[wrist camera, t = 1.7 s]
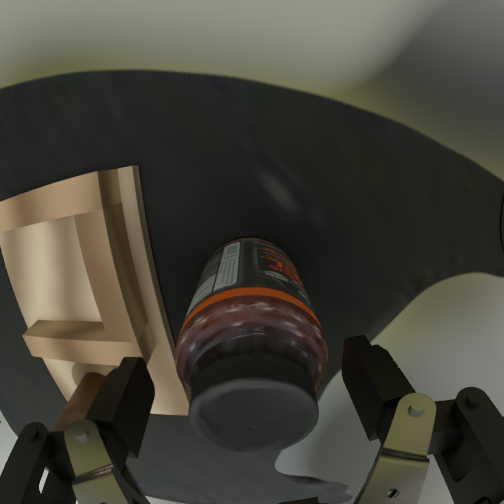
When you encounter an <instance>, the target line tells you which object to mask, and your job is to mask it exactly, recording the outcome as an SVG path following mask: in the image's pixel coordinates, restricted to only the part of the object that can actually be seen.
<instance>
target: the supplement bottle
mask: <svg viewBox="0 0 504 504" xmlns="http://www.w3.org/2000/svg"><path fill="white" fill-rule="evenodd" d="M328 360H329V350H328V346H327V340H326V337H325V335H324V332H323V330H322V327H321V325H320V322H319V319H318V317H317V315H316V313H315V311H314V308H313V306H312V304H311V301H310V300H309V297H308V295H307V293H306V290H305V288H304V286H303V284H302V281H301V279H300V277H299V275H298V272H297V270H296V269H295V266H294V264H293V263H292V261H291V260H290V258H289V256H287V254H286V253H285V252H284V251H283V250H282V249H280V248H279V247H278V246H276V245H275V244H273V243H271V242H269V241H266V240H263V239H257V238H241V239H237V240H233V241H231V242H229V243H226V244H224V245H223V246H221V247H220V248H219V249H217V250H216V251H215V252H214V254H213V255H212V256H211V257H210V259H209V260H208V262H207V264H206V266H205V268H204V270H203V273H202V275H201V278H200V281H199V283H198V285H197V288H196V291H195V294H194V296H193V299H192V301H191V304H190V307H189V310H188V312H187V315H186V318H185V320H184V323H183V326H182V329H181V331H180V335H179V337H178V341H177V345H176V351H175V366H176V371H177V375H178V377H179V380H180V382H181V383H182V385H183V387H184V388H185V390H186V391H187V392H188V394H189V395H190V396H191V400H190V404H189V411H188V417H189V423H190V425H191V427H192V429H193V431H194V432H195V433H196V434H197V436H198V437H199V438H201V439H202V440H203V441H204V442H206V443H207V444H209V445H211V446H213V447H215V448H219V449H221V450H223V451H227V452H232V453H238V454H266V453H271V452H276V451H279V450H283V449H286V448H288V447H290V446H292V445H294V444H296V443H298V442H299V441H301V440H302V439H304V438H305V437H306V436H307V435H308V434H309V433H310V432H311V431H312V430H313V428H314V427H315V426H316V424H317V421H318V416H319V409H318V404H317V401H316V394H315V392H316V390H317V389H318V388H319V386H320V385H321V383H322V381H323V379H324V376H325V374H326V371H327V367H328Z"/></svg>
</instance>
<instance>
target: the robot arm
mask: <svg viewBox="0 0 504 504" xmlns="http://www.w3.org/2000/svg"><path fill="white" fill-rule="evenodd" d="M501 233H502V242H503V246H504V203H503V210H502V220H501ZM342 376H343V381H344V383H345V385H346V388H347V390H348V392H349V395H350V397H351V399H352V402H353V404H354V406H355V409H356V411H357V413H358V415H359V418H360V420H361V423H362V425H363V427H364V430H365V432H366V434H367V437H368V439H369V441H372V440H375V439H379V440H380V442H381V446H380V448H379V451H378V453H377V456H376V458H375V461H374V463H373V465H372V467H371V469H370V472H369V474H368V476H367V478H366V480H365V482H364V484H363V486H362V488H361V490H360V492H359V494H358V495H357V497H356V499H355V501H354V503H353V504H417V502H418V499H419V497H420V493H421V491H422V488H423V484H424V481H425V478H426V474H427V471H428V467H429V459H428V458H427V455H430V454H433V455H434V457H435V459H436V462H437V464H438V466H439V468H440V471H441V473H442V475H443V477H444V480H445V482H446V485H447V487H448V489H449V492H450V494H451V496H452V499H453V501H454V504H504V418H503V417H502V415H501V414H500V412H499V411H498V410H497V408H496V407H495V405H494V404H493V403H492V401H491V400H490V398H489V397H488V396H487V394H486V393H485V392H484V391H483V390H481V389H479V388H476V387H467V388H464V389H462V390H461V391H460V392H459V393H458V395H457V397H456V399H453V400H446V401H433V399H432V398H430V397H429V396H427V395H425V394H422V393H416V392H415V390H414V389H413V387H412V386H411V384H410V383H409V381H408V380H407V378H406V377H405V376H404V374H403V373H402V371H401V370H400V368H398V365H397V364H396V362H395V361H393V358H392V357H391V355H390V354H389V352H388V351H387V350H385V349H384V348H382V347H380V346H379V345H373V346H372V345H371V344H370V342H369V341H368V339H367V338H366V336H365V335H360V336H355V337H350V338H346V339H345V341H344V350H343V359H342ZM154 398H155V387H154V383H153V381H152V378H151V376H150V373H149V371H148V368H147V366H146V363H145V361H144V359H143V358H142V357H124V358H123V359H122V361H121V363H120V365H119V367H118V368H114V369H113V370H112V371H110V372H109V373H108V374H107V375H106V376H105V378H104V380H103V382H102V384H101V386H100V388H99V390H98V394H96V396H95V398H94V400H93V402H92V404H91V406H90V408H89V410H88V412H87V414H86V416H85V418H84V419H80V420H76V421H74V422H72V423H71V424H70V425H69V426H68V427H67V428H66V430H65V431H52V432H49V430H48V429H47V428H46V427H45V425H43V424H42V423H40V422H32V423H30V424H28V425H26V426H25V427H24V428H23V430H22V431H21V433H20V435H19V437H18V439H17V441H16V443H15V445H14V447H13V449H12V452H11V453H10V456H9V458H8V460H7V462H6V464H5V467H4V469H3V471H2V474H1V476H0V504H75V503H76V500H77V501H78V504H150V502H149V501H148V500H147V499H146V497H145V495H144V494H143V492H142V490H141V489H140V487H139V485H138V484H137V482H136V480H135V479H134V477H133V475H132V473H131V472H130V470H129V468H128V466H127V465H126V459H127V457H130V458H137V459H138V455H139V451H140V447H141V444H142V440H143V436H144V433H145V429H146V426H147V422H148V419H149V415H150V412H151V408H152V405H153V402H154ZM45 468H46V469H47V470H48V471H49V473H48V476H47V478H46V481H45V484H44V487H43V490H42V493H40V491H39V483H40V480H41V477H42V475H43V472H44V469H45ZM279 504H327V503H319V501H318V497H313V498H308V499H302V500H296V501H289V502H282V503H279Z"/></svg>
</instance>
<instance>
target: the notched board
mask: <svg viewBox="0 0 504 504" xmlns="http://www.w3.org/2000/svg"><path fill="white" fill-rule="evenodd" d="M0 246H1V250H2V254H3V257H4V261H5V265H6V268H7V271H8V275H9V278H10V281H11V284H12V287H13V290H14V293H15V296H16V299H17V301H18V304H19V307H20V309H21V312H22V314H23V317H24V319H25V322H26V324H27V326H28V330H27V331H26V332H25V333H24V334H23V335H22V336H23V338H24V340H25V342H26V344H27V346H28V348H29V350H30V352H31V354H32V356H37V357H42V358H43V360H44V362H45V364H46V366H47V368H48V369H49V371H50V373H51V375H52V377H53V378H54V380H55V382H56V383H57V385H58V387H59V388H60V390H61V392H62V393H63V395H64V397H65V398H66V400H67V401H69V400H70V398H71V396H72V395H73V393H74V391H75V390H76V388H77V386H76V385H75V383H74V380H73V378H72V367H73V366H74V364H75V363H76V362H80V363H90V364H101V365H114V366H119V365H120V363H121V361H122V359H123V358H124V357H142V358H143V359H144V361H145V363H146V366H147V368H148V371H149V373H150V376H151V378H152V381H153V383H154V387H155V398H154V402H153V405H152V408H151V412H150V413H153V414H168V415H188V411H189V404H190V400H191V396H190V395H189V394H188V392H187V391H186V390H185V388H184V387H183V385H182V383H181V382H180V380H179V377H178V375H177V371H176V366H175V351H176V348H175V345H174V341H173V338H172V334H171V331H170V327H169V323H168V320H167V316H166V312H165V308H164V304H163V300H162V296H161V292H160V287H159V283H158V279H157V274H156V269H155V265H154V260H153V255H152V250H151V245H150V240H149V234H148V228H147V223H146V217H145V210H144V204H143V197H142V190H141V183H140V175H139V167H138V165H136V166H129V167H124V168H119V169H112V170H102V171H96V172H92V173H88V174H84V175H80V176H77V177H73V178H70V179H66V180H63V181H59V182H56V183H53V184H50V185H47V186H43V187H40V188H37V189H34V190H31V191H29V192H26V193H23V194H20V195H17V196H15V197H12V198H9V199H7V200H4V201H1V202H0Z"/></svg>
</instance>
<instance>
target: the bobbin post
mask: <svg viewBox="0 0 504 504" xmlns="http://www.w3.org/2000/svg"><path fill="white" fill-rule="evenodd" d="M118 367H119V366H114V365H101V364H90V363H80V362H76V363H75V364H74V366H73V367H72V378H73V380H74V383H75V385H76V386H77V388H76V390H75V391H74V393H73V395H72V396H71V398H70V400H69V401H68V403H67V405H66V407H65V408H64V410H63V412H62V413H61V415H60V417H59V419H58V420H57V422H56V424H55V426H54V428H53V430H52V431H65V430H66V428H67V427H68V426H69V425H70V424H71V423H72V422H74V421H76V420H80V419H84V418H85V416H86V414H87V412H88V410H89V408H90V406H91V404H92V402H93V400H94V398H95V396H96V394H98V390H99V388H100V386H101V384H102V382H103V380H104V378H105V376H106V375H107V374H108V373H109V372H110V371H112V370H113V369H114V368H118ZM52 431H51V432H52ZM45 470H47V469H46V468H45ZM47 471H48V470H47ZM48 472H49V471H48Z"/></svg>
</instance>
